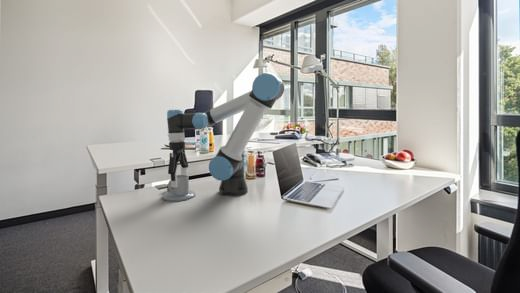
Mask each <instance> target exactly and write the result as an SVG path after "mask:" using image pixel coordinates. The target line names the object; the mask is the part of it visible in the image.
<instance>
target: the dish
mask: <svg viewBox="0 0 520 293" xmlns="http://www.w3.org/2000/svg"><path fill="white" fill-rule="evenodd" d="M195 197H196V192H195V191H194V190H191V189H189V193H188V194H187V195H183V196H177V195H175V194H174V192H171V191H168V192H167V191H166V192H164V193H162V194H161V198H162V200H163V201H166V202H184V201H187V200H192V199H193V198H195Z"/></svg>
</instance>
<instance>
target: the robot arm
mask: <svg viewBox="0 0 520 293" xmlns="http://www.w3.org/2000/svg"><path fill="white" fill-rule="evenodd" d="M251 88H252V89H251V90H249V91H248V92H245V93H244V94H241V95H239V96H237V97H235V98H233V99H231V100H228V101H226V102H224V103H222V104H220V105H218V106H215V107H213V108H211V109H209V110H206V111H204V112H194V113H193V112H192V113H191V112H190V113H184V110H182V109H168V110H167V112H166V120H167V121H166V122H167V132H168V133H167V137H168V141H169V142H168V149H169V150H170V151H172V152H169V161H168V171H167V174H168V175H170V180H171V187H177V175H178V174H177V169H178V168H177V167H178V164H180V166H181V167H180V175H188V170H187V168H189V163H188V159H187V155H186V150H185V149H186V141H185V138H186V137H185V130H203V129H206V128H210V127H213V126H214V125H216V124H217V123H219V122H222V121H224V120H226V119H229V118H231V117H233V116H235V115H238V114H240V113H242V114H241V116H240V117H239V120H238V121H237V123H236V124H235V127H234V129H233V131H232V133H231V134H230V136H229V138H228V139H227V142H226V143H225V145H223V146H220V148H219V149H218V151H217V153H216V154H215V156H214V157H212V158H211V159H210V161H209V163H208V171H209V173H210V175H211V177H212V178H214V179H215V180H217V181H219V182H220V184H219V187H218V193H219V194H220V195H222V196H226V197H227V196H228V197H230V196H231V197H236V196H241V195H242V196H243V195H246V194H247V193H248V192H249V187H248V184H247V182H246V179H245V151H244V150H245V148H246V147H247V145H248V143H249V141H250V139H251V138H252V136H253V135H254V133H255V131H256V130H257V127H258V126H259V124H260V123H261V120H262V119H263V116H264V115H265V113H266V111H268V110H271V109H272V108H273V106H274V104H275V103H276V102H277V101H278V100H279V99H281V97H282V96H283V95H284V93H285V84H284V82H283V80H282V79H281V78H280V77H279V76H277V75H276V74H274V73H272V72H263V73H259V74H258V75H257V76H256V77H255V78H254V79H253V82H252V86H251Z"/></svg>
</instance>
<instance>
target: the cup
mask: <svg viewBox="0 0 520 293" xmlns="http://www.w3.org/2000/svg"><path fill="white" fill-rule="evenodd" d="M189 182H190V181H189V175H188V174H187V175H181V174H177V187H174V189H172V187H171V179H170V180H169V181H168V183H167V185H168V189H169V191H171V192H174V194H175V195H177V196H183V195H187V194H188V193H189V190H190V186H189V185H190V183H189Z"/></svg>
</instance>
